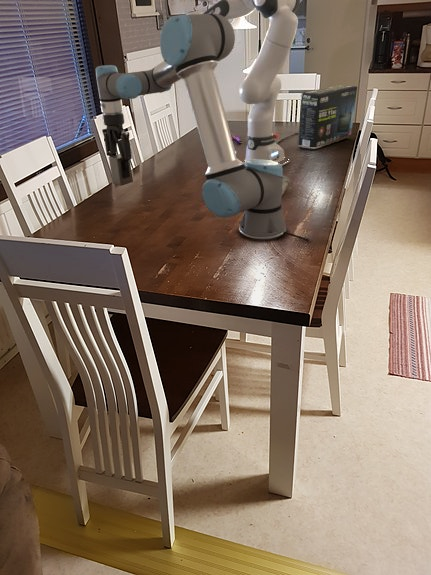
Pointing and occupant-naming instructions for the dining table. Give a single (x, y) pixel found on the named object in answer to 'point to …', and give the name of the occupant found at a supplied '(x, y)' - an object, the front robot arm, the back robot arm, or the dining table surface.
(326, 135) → the router box
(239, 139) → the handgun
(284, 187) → the fossil
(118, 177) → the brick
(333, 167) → the dining table surface
